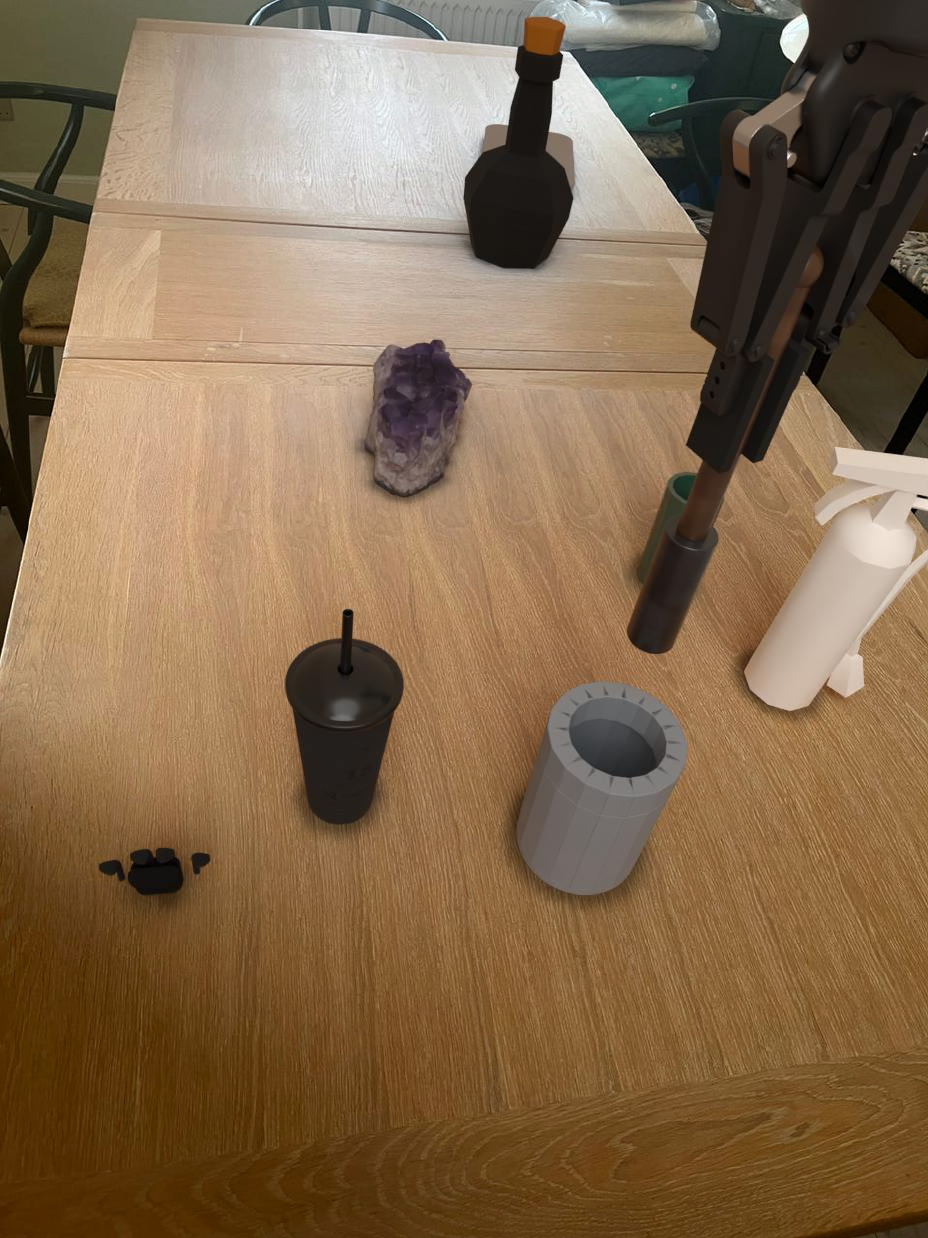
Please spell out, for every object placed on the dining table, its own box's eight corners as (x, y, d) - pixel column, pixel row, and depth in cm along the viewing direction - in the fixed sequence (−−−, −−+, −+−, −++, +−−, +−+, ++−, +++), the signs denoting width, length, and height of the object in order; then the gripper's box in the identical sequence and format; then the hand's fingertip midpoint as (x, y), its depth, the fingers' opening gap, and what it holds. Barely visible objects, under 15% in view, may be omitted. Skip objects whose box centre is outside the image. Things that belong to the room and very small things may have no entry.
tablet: (477, 188, 154) (479, 174, 152) (484, 134, 172) (486, 121, 170) (572, 202, 155) (575, 188, 153) (569, 148, 173) (572, 135, 171)
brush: (676, 625, 61) (841, 235, 42) (672, 660, 58) (844, 264, 40) (629, 613, 61) (772, 220, 42) (623, 647, 59) (771, 247, 40)
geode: (468, 506, 95) (466, 427, 88) (357, 504, 96) (346, 425, 88) (474, 393, 109) (474, 315, 101) (377, 392, 109) (369, 315, 102)
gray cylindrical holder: (642, 804, 72) (691, 700, 63) (629, 911, 66) (682, 813, 56) (528, 773, 73) (560, 666, 64) (504, 876, 66) (536, 774, 57)
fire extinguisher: (861, 731, 80) (1020, 510, 62) (724, 700, 81) (842, 471, 63) (853, 674, 85) (998, 453, 67) (724, 645, 85) (834, 418, 68)
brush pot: (690, 566, 93) (725, 479, 85) (686, 601, 89) (723, 513, 81) (639, 553, 93) (670, 466, 85) (634, 588, 90) (665, 499, 82)
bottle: (447, 263, 133) (473, 25, 112) (467, 219, 145) (494, -5, 123) (555, 284, 133) (602, 49, 111) (566, 239, 144) (611, 17, 123)
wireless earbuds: (213, 872, 64) (208, 835, 60) (213, 906, 62) (207, 869, 58) (107, 882, 62) (95, 844, 59) (103, 917, 61) (90, 880, 57)
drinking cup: (267, 789, 69) (257, 601, 55) (349, 739, 73) (359, 552, 59) (329, 861, 65) (334, 681, 51) (411, 804, 69) (437, 623, 55)
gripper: (982, -108, 38) (772, 390, 54) (718, -130, 31) (573, 443, 48) (1150, -62, 34) (868, 461, 50) (887, -75, 27) (663, 530, 44)
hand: (724, 452), depth 49 cm, fingers closed on brush, 2 cm apart
